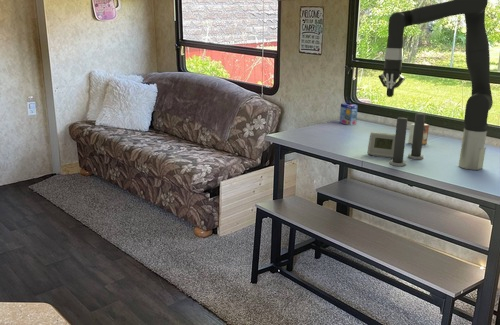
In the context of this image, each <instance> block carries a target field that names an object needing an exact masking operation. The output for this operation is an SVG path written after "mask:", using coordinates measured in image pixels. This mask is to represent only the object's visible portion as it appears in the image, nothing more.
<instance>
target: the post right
mask: <svg viewBox="0 0 500 325" xmlns="http://www.w3.org/2000/svg"><path fill="white" fill-rule="evenodd" d="M414 116H415V118H414V123H413V124H414V133H413V142H412V144H411V151H410V153H408V154H407V155H408V156H407V157H408V158H409V159H412V160H424V155H423V154H422V148H423V147H422V146H423V144H422V141H423V132H424V124H426V123H425V121H426V113H423V112H418V113H417V112H415V115H414Z"/></svg>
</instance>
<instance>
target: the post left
mask: <svg viewBox="0 0 500 325" xmlns="http://www.w3.org/2000/svg"><path fill="white" fill-rule="evenodd" d="M408 119H409V118H407V117H397V118H396V126H395V127H396V128H395V134H394V135H395V144H394V154H393V158H392V159H390V160H389V164H390V165H391V166H393V167H404V166H406V164H407V162H406V161H405V160H404V156H405V155H404V153H405V146H406V137H407V127H408V121H409V120H408Z"/></svg>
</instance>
